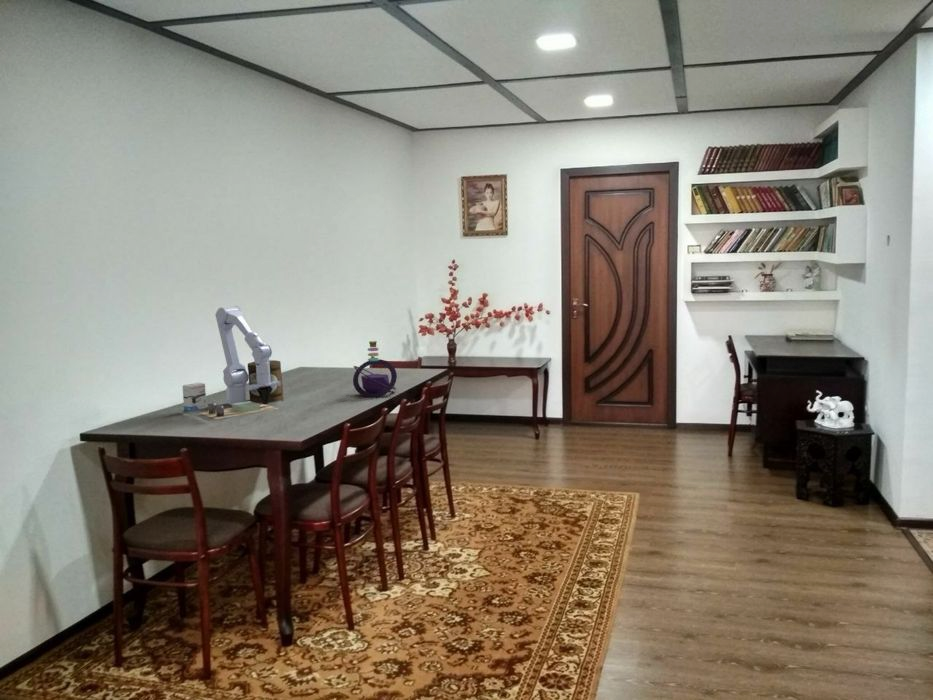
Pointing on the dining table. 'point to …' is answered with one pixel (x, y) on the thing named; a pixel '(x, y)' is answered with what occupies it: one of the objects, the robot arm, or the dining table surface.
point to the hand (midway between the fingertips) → (265, 404)
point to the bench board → (230, 412)
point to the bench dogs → (216, 409)
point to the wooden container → (274, 376)
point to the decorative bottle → (374, 377)
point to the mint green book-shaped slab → (245, 406)
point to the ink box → (194, 396)
